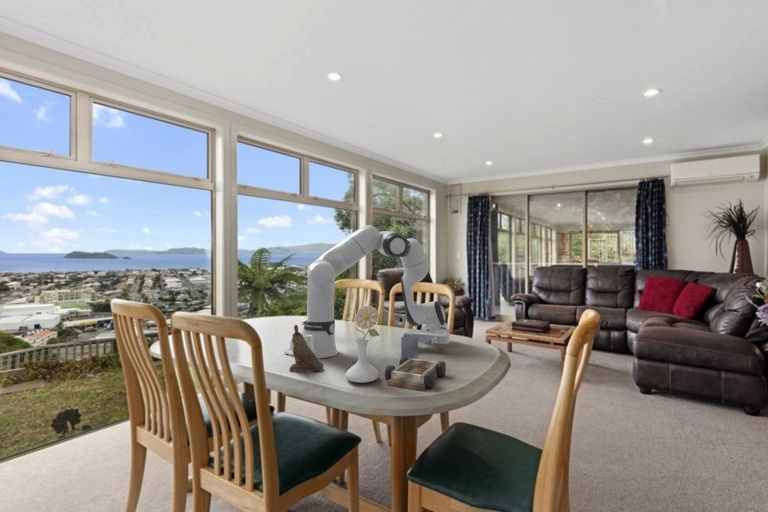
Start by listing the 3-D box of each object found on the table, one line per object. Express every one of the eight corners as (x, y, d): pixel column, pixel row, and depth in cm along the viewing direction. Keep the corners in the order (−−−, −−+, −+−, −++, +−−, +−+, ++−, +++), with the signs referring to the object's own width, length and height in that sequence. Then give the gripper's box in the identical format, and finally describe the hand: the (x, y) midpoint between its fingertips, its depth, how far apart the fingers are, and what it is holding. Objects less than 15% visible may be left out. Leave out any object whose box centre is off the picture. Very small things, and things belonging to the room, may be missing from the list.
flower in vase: (337, 380, 124) (338, 304, 124) (362, 372, 132) (362, 301, 132) (366, 390, 115) (366, 308, 115) (390, 380, 124) (390, 304, 124)
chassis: (382, 384, 120) (382, 368, 120) (406, 367, 138) (406, 353, 138) (428, 391, 114) (428, 375, 114) (446, 373, 132) (446, 358, 132)
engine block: (401, 363, 144) (401, 337, 144) (406, 359, 149) (406, 334, 148) (413, 364, 142) (413, 338, 142) (418, 361, 146) (418, 335, 146)
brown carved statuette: (289, 378, 133) (278, 329, 133) (294, 373, 139) (284, 326, 139) (321, 372, 132) (311, 322, 132) (325, 367, 138) (315, 319, 138)
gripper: (408, 325, 173) (396, 330, 160) (452, 329, 164) (443, 335, 151) (408, 338, 173) (396, 345, 160) (452, 343, 164) (443, 350, 151)
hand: (419, 340), depth 156 cm, fingers open, 8 cm apart
